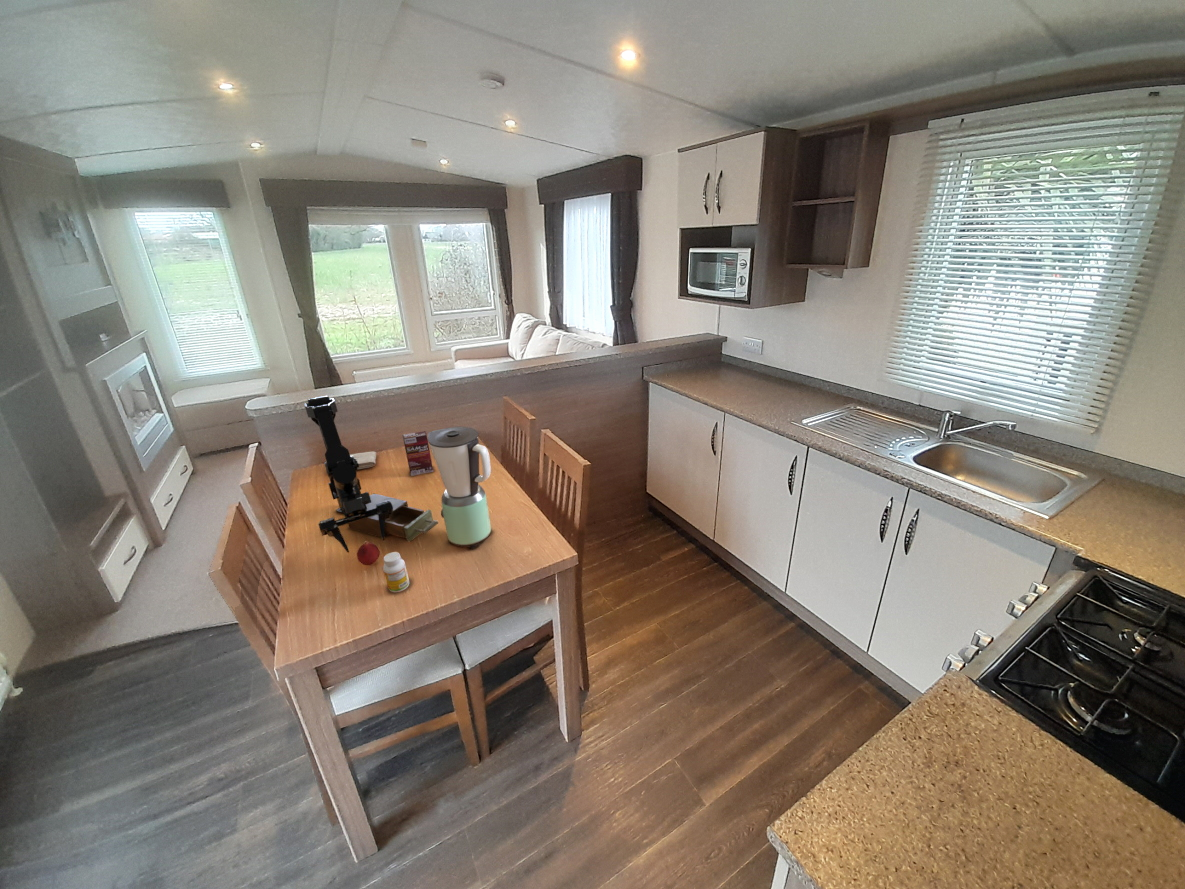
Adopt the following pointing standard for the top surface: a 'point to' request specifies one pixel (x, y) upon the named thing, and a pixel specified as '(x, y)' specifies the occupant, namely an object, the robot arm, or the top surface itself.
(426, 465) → the supplement box
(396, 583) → the supplement bottle
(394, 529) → the drawer
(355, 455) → the washcloth
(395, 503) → the cabinet
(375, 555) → the onion
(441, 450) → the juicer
